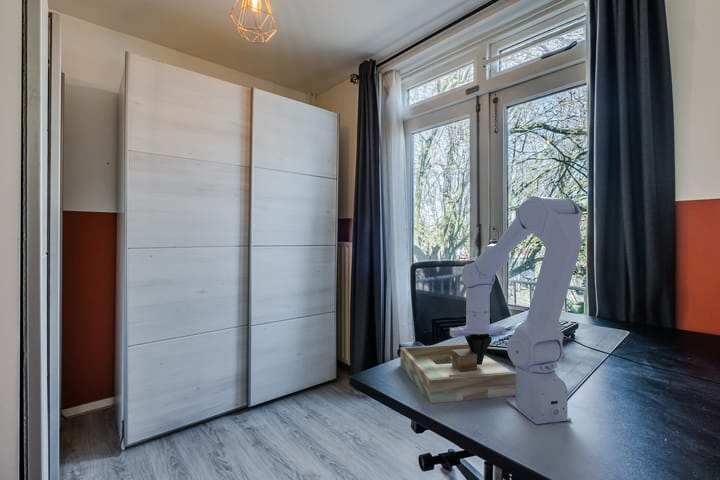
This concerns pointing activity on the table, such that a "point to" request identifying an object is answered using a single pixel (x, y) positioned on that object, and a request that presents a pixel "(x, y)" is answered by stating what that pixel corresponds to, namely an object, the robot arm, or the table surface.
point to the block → (464, 360)
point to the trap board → (454, 375)
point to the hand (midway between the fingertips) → (477, 363)
